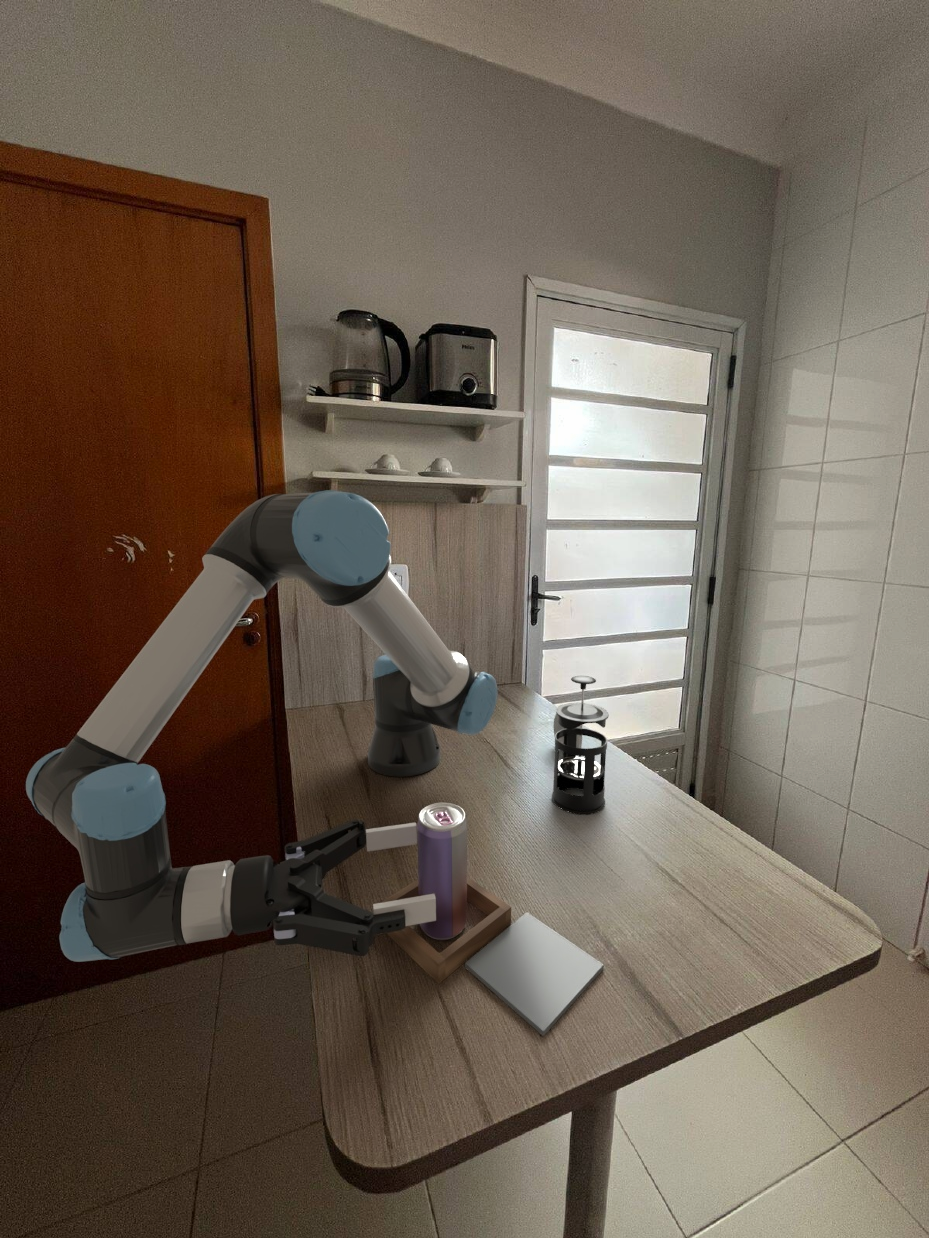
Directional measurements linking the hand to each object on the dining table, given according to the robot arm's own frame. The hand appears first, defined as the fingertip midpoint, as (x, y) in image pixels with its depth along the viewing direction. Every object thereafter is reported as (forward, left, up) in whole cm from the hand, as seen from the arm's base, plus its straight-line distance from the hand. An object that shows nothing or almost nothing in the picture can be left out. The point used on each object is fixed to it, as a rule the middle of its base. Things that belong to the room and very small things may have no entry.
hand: (425, 866), depth 62 cm
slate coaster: (+13, +5, -9) cm, 16 cm away
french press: (-4, +39, -9) cm, 40 cm away
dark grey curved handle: (-16, +53, -9) cm, 56 cm away
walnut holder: (+1, +2, -9) cm, 9 cm away
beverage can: (+1, +2, -9) cm, 9 cm away
